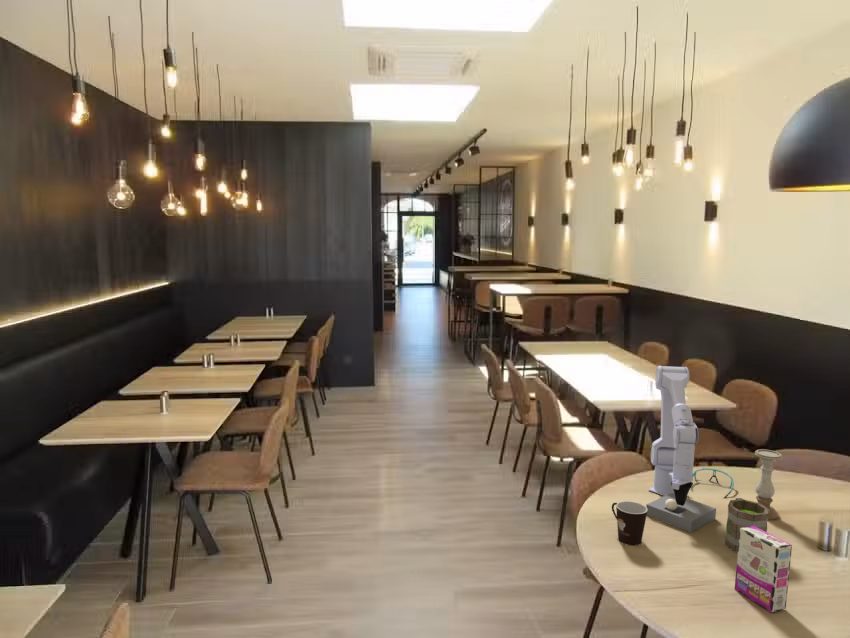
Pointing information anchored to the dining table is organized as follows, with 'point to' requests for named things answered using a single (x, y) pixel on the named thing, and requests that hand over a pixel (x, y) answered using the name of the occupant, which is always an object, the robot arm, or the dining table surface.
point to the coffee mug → (630, 521)
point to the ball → (671, 504)
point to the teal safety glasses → (715, 477)
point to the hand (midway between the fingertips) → (680, 504)
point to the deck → (682, 513)
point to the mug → (744, 519)
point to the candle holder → (767, 480)
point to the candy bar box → (763, 568)
